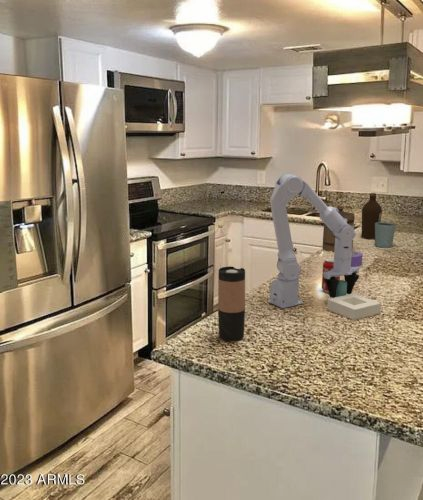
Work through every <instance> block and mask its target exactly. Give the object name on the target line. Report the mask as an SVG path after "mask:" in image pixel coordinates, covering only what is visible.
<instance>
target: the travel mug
mask: <svg viewBox="0 0 423 500" xmlns="http://www.w3.org/2000/svg"><path fill="white" fill-rule="evenodd" d="M217 278H218V284H217V286H218V287H217V288H218V289H217V290H218V291H217V294H218V297H217V300H218V302H217V311H218V312H217V314H218V315H217V317H218V336H219V337H218V338H219V339H220V340H222V341H225V342H238V341H239V342H240V341H241V340H243V339H244V335H245V319H246V318H245V316H246V314H245V313H246V269H245V268H244V267H240V268H236V267H234V266H231V265H230V266H224V267H220V268H219V269H218V277H217Z"/></svg>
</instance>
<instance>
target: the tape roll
mask: <svg viewBox="0 0 423 500" xmlns="http://www.w3.org/2000/svg"><path fill="white" fill-rule="evenodd" d="M362 265H363V253H362V252H360V251H356V250H352V254H351V267H357V268H359V267H361V266H362Z"/></svg>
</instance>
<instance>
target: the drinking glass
mask: <svg viewBox="0 0 423 500" xmlns="http://www.w3.org/2000/svg"><path fill="white" fill-rule="evenodd" d="M396 226H397V224H396V223H394V222H385V221H381V222H377V223H375V239H374V247H375V248H379V249H391V248H392V247H393V243H394V238H395V233H396V228H397V227H396Z"/></svg>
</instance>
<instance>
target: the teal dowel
mask: <svg viewBox="0 0 423 500" xmlns="http://www.w3.org/2000/svg"><path fill="white" fill-rule="evenodd" d="M344 295H348V294H347V281H345V279H344V280H343V279H342V280H341V279H340V280H339V283H338V286H337V290H336V297H340V296H344Z"/></svg>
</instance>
